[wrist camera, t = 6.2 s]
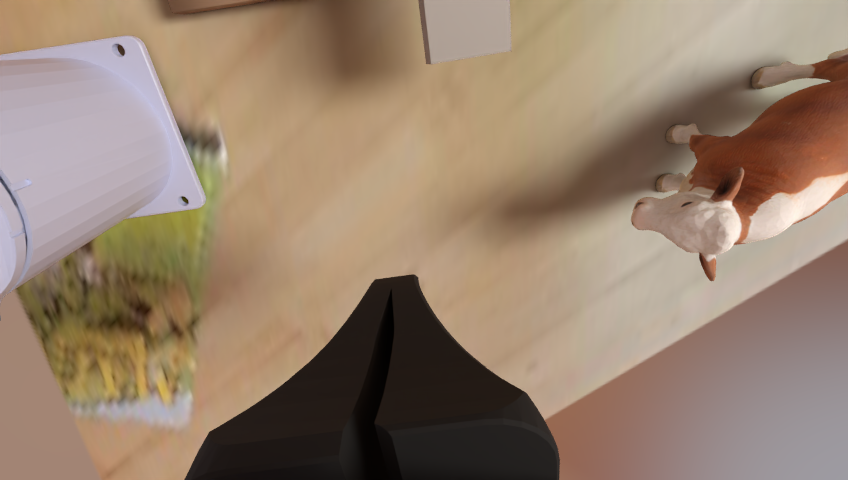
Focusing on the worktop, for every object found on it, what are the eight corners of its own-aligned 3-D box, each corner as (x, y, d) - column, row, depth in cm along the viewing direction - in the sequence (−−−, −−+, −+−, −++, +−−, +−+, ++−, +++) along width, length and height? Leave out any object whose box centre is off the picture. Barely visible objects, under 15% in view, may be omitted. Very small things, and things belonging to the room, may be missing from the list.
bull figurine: (570, 160, 21) (658, 224, 14) (846, 15, 19) (1133, -1, 11) (597, 226, 23) (687, 314, 16) (852, 102, 20) (1104, 137, 13)
